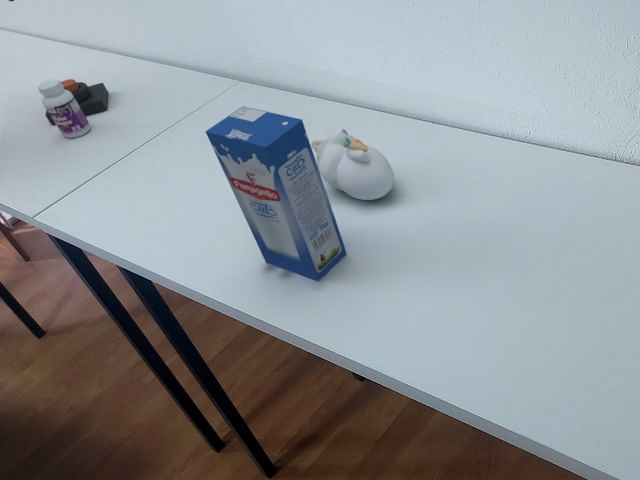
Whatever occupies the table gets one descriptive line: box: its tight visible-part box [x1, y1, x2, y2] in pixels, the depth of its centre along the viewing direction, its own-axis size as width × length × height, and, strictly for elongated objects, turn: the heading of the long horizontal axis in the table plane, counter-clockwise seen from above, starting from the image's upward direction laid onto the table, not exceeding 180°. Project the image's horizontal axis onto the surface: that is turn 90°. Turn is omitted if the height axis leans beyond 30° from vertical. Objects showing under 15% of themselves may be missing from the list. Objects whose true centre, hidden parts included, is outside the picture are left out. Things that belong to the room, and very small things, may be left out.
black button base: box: [45, 81, 109, 126], centre depth 130 cm, size 11×9×4 cm
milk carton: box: [205, 105, 348, 282], centre depth 81 cm, size 10×6×20 cm, turn 58°
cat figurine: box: [310, 128, 395, 201], centre depth 96 cm, size 10×8×15 cm
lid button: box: [60, 78, 80, 93], centre depth 128 cm, size 4×4×2 cm
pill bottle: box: [37, 78, 92, 139], centre depth 121 cm, size 5×5×10 cm
